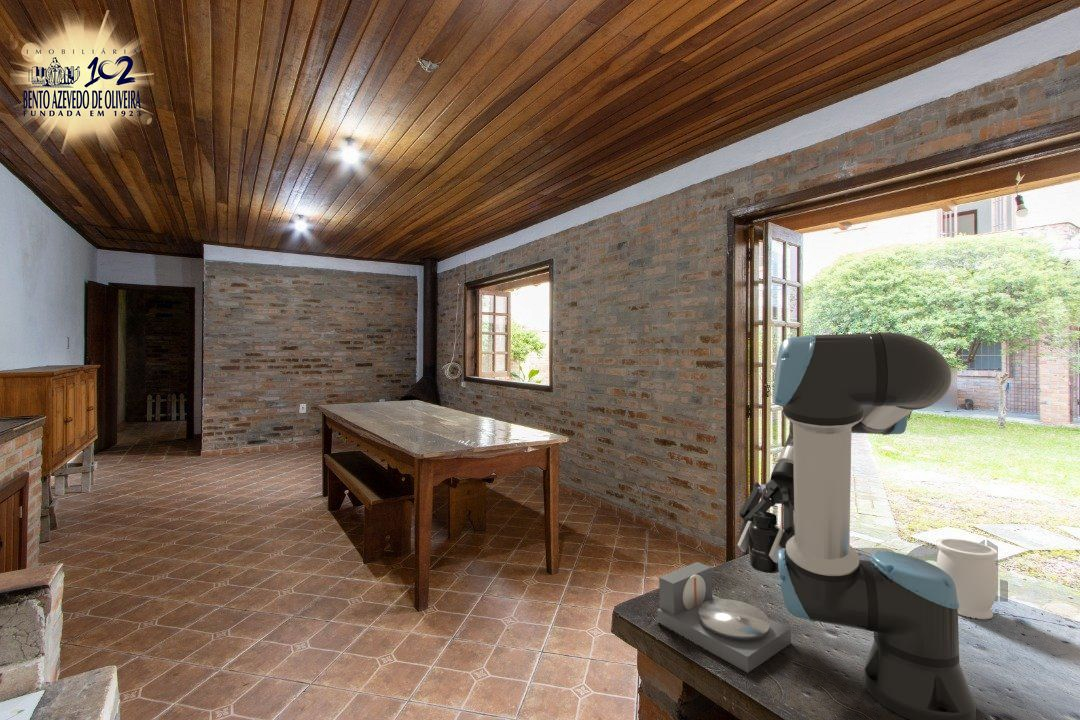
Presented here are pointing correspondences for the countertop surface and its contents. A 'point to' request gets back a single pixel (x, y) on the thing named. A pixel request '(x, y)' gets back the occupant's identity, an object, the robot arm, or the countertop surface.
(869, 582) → the robot arm
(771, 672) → the countertop surface
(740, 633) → the scale pan
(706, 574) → the scale
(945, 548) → the jar
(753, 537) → the supplement bottle
